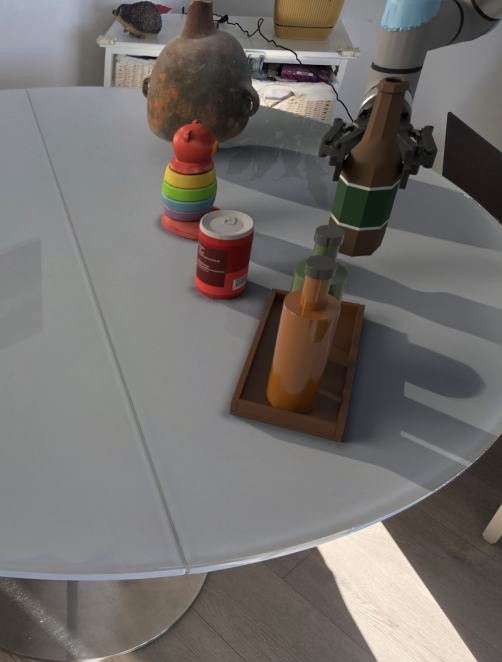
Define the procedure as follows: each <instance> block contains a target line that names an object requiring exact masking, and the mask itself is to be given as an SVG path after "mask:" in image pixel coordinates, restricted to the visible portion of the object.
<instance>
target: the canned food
mask: <svg viewBox="0 0 502 662" xmlns="http://www.w3.org/2000/svg"><path fill="white" fill-rule="evenodd" d="M254 233H255V221H254V219H253V217H251V216H250V215H248V214H247V213H245V212H242V211H239V210H233V209H221V210H219V211H214V212H210V213H208V214H206V215H205V216H203V217H202V219H201V221H200V228H199V238H198V240H197V253H196V265H195V266H196V267H195V277H194V283H195V286H196V289H197V290H198V292H199V293H201V294H202V295H204V296H206V297H207V298H211V299H215V300H228V299H232V298H235V297H237V296H239V295H240V294H241V293H242V292H243V291H244V290H245V288H246V285H247V280H248V274H249V267H250V262H251V261H250V260H251V254H252V248H253V240H254V235H255V234H254Z"/></svg>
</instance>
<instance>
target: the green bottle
mask: <svg viewBox="0 0 502 662" xmlns="http://www.w3.org/2000/svg"><path fill="white" fill-rule="evenodd" d="M344 235H345V231H344V230H343V229H342V228H340V227H338V226H334V225H328V224H322V225H319V226H317V227H316V228H315V233H314V235H313V241H314V245H313V250H312V255H311V256H317V255H321V256H327V257H330V258H332V259H334V260H335V261H336V262H337V259H338V254H339V253H338V251H339V247H340V245H341V244H342V243H343V239H344ZM307 259H308V258H305V259H302V260H300V261H298V262H297V263H296V264H295V265H294V269H293V275H292V280H291V284H290V290H289V291H290V293H291V292H293V291H296V290H301V289H302V288H303V283H304V279H305V272H304V269H305V264H306V260H307ZM348 278H349V272H348V269H347V268H346V267H345V266H344V265H343V264H341V263H339V262H337V268H336V272H335V276H334V277H333V278H332V280H331V284H330V288H329V292H328V294H330V295H332V296H333V297H335V298H336V299H337V300H338V301H339V303H340V305H341V301H343V297H344V292H345V290H346V285H347V281H348Z"/></svg>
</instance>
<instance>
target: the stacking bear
mask: <svg viewBox="0 0 502 662" xmlns="http://www.w3.org/2000/svg"><path fill="white" fill-rule="evenodd" d="M219 145H220V144H219V143H218V141H217V139H216V138H215V137H214V135H213V134H212V132H211V131H210V130H209V128H208V127H206V126H204V125H202V124H199V120H194V121H193V122H192V124H188V125H185V126H183V127H181V128H180V129H179V130H178V131H177V132H176V134H175V136H174V138H173V143H172V150H173V153H174V157H173V158H172V159H171V160H170V162H169V163H168V164H167V166H166V169H165V172H164V177H163V178H162V179H163V180H162V184H161V198H162V203H163V209H164V212H163V214H162V216H161V224H162V226H163V227H164V228H165V229H166V230H168V231H169V232H171V233H172V234H175V235H177V236H179V237H183V238H187V239H191V240H197V241H198V238H199V228H200V221H201V219H202V217H203V216H205V215H206V214H208V213H210V212H214V211H219V210H222V209H221V208H219V207H218V206H215V205H214V204H215V201H216V198H217V193H218V192H217V191H218V178H217V172H216V167H215V162H214V159H212V157H213V156H214V155H215V154H216V153H217V151H218V149H219Z"/></svg>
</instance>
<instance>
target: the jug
mask: <svg viewBox="0 0 502 662" xmlns="http://www.w3.org/2000/svg"><path fill="white" fill-rule="evenodd" d="M213 4H214V1H213V0H192V1H191V3H190V4H189V6H188V7H187V9H186V16H185V23H184V26H183V30H182V31H181V33H180V34H178V35H176V36H174V37H173V38H171V39H170V40H169V41H168V42H167V43H166V44H165V46H164V47H163V48H162V49H161V51H160V53H159V54H158V56H157V58H156V59H155V62H154V64H153V67H152V70H151V73H150V74H149V75H147V76H146V77H144V79H143V80H142V84H141V86H142V87H141V88H142V89H141V92H142V95H143V96H144V98H145V99H146V117H147V118H146V119H147V124H148V127H149V130H150V132H151V133H152V134H153V135H154V136H155V137H157V138H158V139H160V140H163V141H165V142H168V143H172V144H173V138H174V136H175V134H176V132H177V131H178V130H179V129H180V128H181V127H183V126H185V125H188V124H192V122H193V121H194V120H199V124H202V125H204V126H206V127H208V128H209V130H210V131H211V132H212V134H213V135H214V137H215V138H216V139H217V141H218V144H221V143H224V142H227V141H229V140H232V139H234V138H235V137H237V136H239V135H240V134H241V133H243V132H244V130H245V129H246V128H247V125H248V123H249V120H250V118H251V117H253V116H254V115H256V114H257V112H258V111H259V109H260V103H261V99H260V95H259V93H258V91H257V90H256V88H254V86H253V79H252V72H251V68H250V63H249V61H248V57H247V55H246V52H245V49H244V47H243V46H242V44H241V42H239V40H238V39H237V38H236V37H235V36H234V35H232V34H231V33H229V32H228V31H225V30H223V29H220V24H219V21H217V20H214V14H213V13H214V12H213V6H214V5H213Z"/></svg>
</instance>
